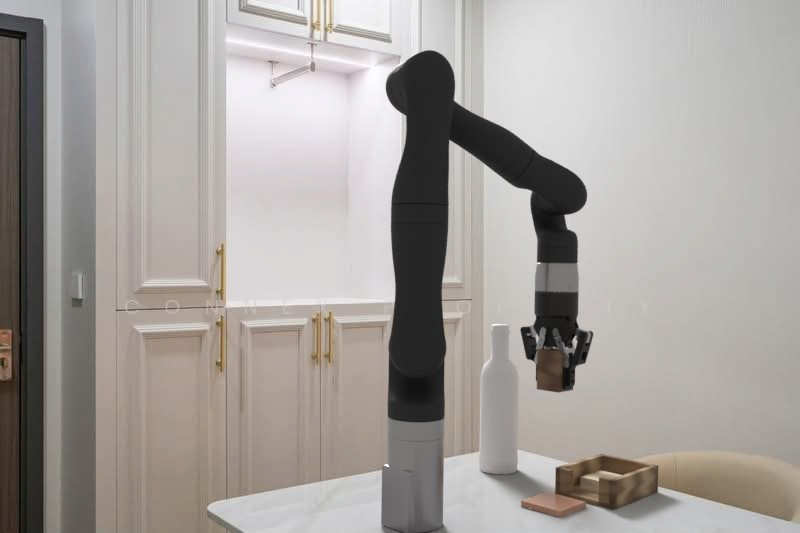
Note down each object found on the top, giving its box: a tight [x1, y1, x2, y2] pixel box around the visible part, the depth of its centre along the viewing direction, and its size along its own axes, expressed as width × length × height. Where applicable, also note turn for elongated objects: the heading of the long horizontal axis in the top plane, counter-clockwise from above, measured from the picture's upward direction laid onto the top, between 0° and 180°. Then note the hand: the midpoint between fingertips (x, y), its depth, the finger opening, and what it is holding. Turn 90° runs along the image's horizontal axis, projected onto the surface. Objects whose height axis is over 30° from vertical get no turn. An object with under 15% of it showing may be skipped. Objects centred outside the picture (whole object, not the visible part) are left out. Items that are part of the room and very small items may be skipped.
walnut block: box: [536, 347, 574, 393], centre depth 133 cm, size 4×4×7 cm
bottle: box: [478, 323, 519, 475], centre depth 158 cm, size 8×8×30 cm
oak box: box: [554, 453, 659, 511], centre depth 142 cm, size 16×12×5 cm
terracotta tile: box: [520, 491, 587, 518], centre depth 133 cm, size 8×8×1 cm
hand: (554, 386), depth 133 cm, fingers closed on walnut block, 4 cm apart
